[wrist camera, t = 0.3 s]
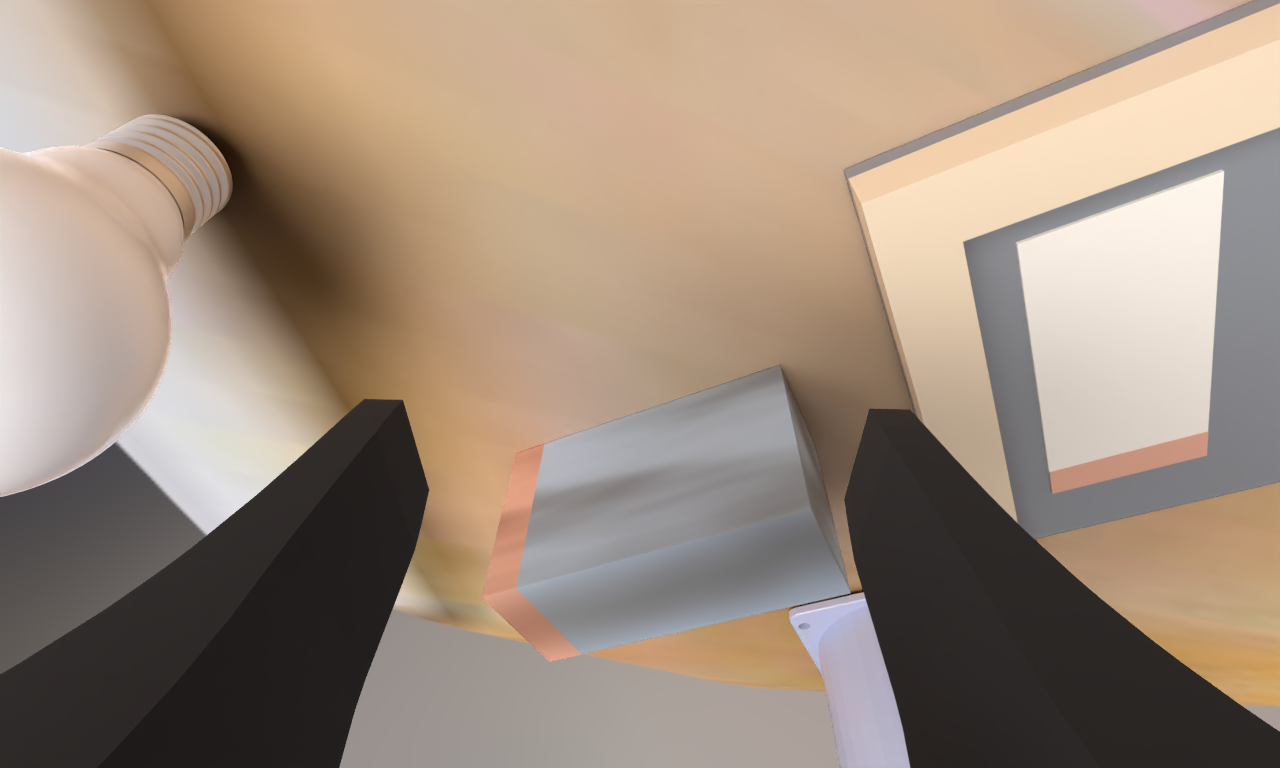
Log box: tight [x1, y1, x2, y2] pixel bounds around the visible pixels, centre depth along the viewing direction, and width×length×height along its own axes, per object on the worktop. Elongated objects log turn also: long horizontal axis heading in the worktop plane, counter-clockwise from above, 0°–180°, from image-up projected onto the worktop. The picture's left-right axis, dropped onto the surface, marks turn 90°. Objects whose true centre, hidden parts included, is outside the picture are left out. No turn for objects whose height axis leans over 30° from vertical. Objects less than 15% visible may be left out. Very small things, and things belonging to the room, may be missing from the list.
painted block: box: [482, 365, 851, 662], centre depth 22 cm, size 4×10×6 cm, turn 115°
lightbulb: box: [0, 114, 233, 497], centre depth 14 cm, size 6×6×11 cm
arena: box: [844, 0, 1280, 539], centre depth 20 cm, size 17×13×2 cm
